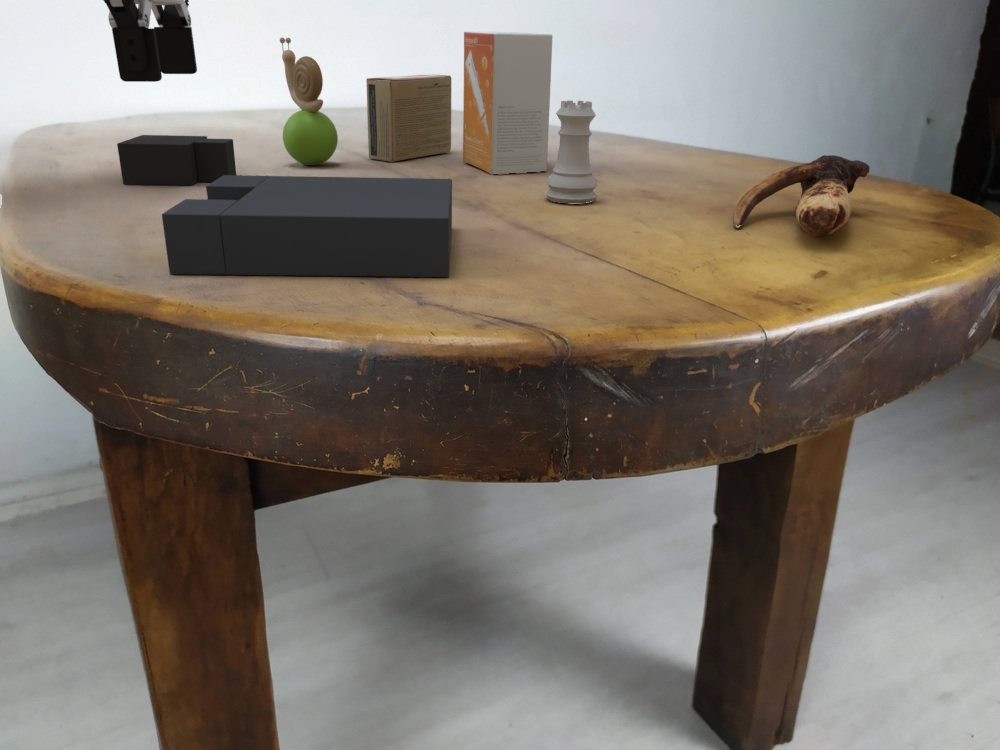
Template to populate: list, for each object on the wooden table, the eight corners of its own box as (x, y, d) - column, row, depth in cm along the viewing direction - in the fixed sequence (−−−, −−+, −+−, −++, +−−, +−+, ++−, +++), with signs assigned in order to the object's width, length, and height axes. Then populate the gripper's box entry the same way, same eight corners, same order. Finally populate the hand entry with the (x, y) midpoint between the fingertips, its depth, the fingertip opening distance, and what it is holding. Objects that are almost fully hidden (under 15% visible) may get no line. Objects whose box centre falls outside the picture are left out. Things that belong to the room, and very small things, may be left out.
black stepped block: (122, 184, 73) (116, 143, 72) (146, 173, 78) (141, 134, 77) (224, 186, 73) (220, 145, 72) (241, 174, 79) (237, 136, 77)
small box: (461, 162, 89) (462, 30, 84) (516, 160, 91) (520, 31, 86) (490, 175, 82) (493, 32, 77) (548, 172, 84) (555, 33, 79)
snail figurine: (314, 158, 89) (307, 37, 85) (349, 165, 85) (343, 39, 80) (269, 162, 86) (259, 37, 81) (303, 170, 82) (294, 39, 77)
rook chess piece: (582, 207, 68) (589, 105, 65) (535, 200, 70) (539, 101, 67) (606, 199, 72) (613, 102, 69) (560, 193, 74) (565, 98, 71)
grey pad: (169, 274, 48) (161, 213, 46) (228, 224, 60) (223, 174, 58) (448, 277, 48) (448, 217, 47) (451, 227, 60) (451, 178, 59)
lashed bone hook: (748, 203, 74) (719, 241, 58) (754, 148, 72) (725, 173, 57) (862, 209, 71) (862, 252, 55) (871, 152, 69) (874, 179, 53)
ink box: (427, 149, 97) (427, 73, 94) (453, 153, 95) (453, 75, 92) (366, 159, 90) (363, 76, 86) (392, 163, 88) (390, 78, 84)
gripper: (120, -135, 74) (152, 71, 80) (26, -176, 58) (75, 84, 64) (206, -134, 74) (230, 71, 81) (136, -175, 58) (173, 84, 65)
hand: (161, 77), depth 73 cm, fingers open, 9 cm apart
